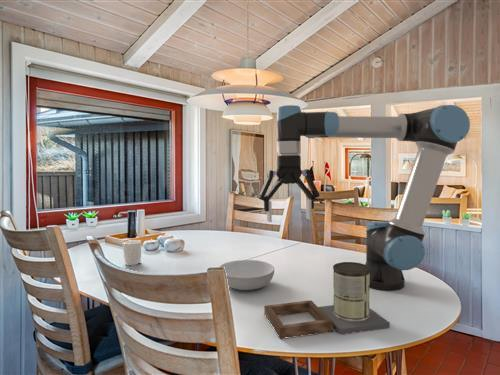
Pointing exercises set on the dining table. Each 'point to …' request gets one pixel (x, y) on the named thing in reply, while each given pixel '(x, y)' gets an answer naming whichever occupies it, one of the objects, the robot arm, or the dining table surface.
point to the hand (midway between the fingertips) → (289, 220)
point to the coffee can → (351, 291)
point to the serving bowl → (248, 274)
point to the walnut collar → (298, 328)
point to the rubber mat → (349, 327)
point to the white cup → (132, 251)
